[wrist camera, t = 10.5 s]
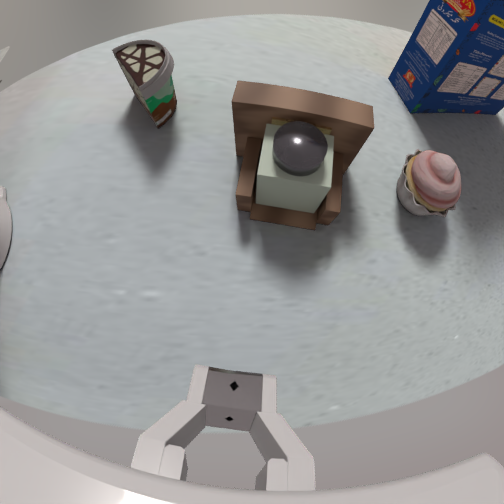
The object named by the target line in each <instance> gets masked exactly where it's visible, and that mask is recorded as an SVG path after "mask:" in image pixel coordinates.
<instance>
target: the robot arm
mask: <svg viewBox="0 0 504 504" xmlns="http://www.w3.org/2000/svg"><path fill="white" fill-rule="evenodd" d="M11 232H12V219H11V213H10V209H9V207H8V204H7V202H6V189H5V187H2V186H0V269H1V267H2V265H3V263H4V261H5V258H6V256H7V253H8V249H9V245H10V240H11ZM205 426H211V427H219V428H227V429H234V430H241V431H249V433H250V435H251V437H252V438H253V440H254V442H255V444H256V445H257V447H258V449H259V451H260V453H261V454H262V456H263V458H264V460H265V461H266V465H265V466H264V467H263V469H262V470H261V471H260V473H259V474H258V475H257V477H256V485H255V490H248V489H236V488H227V487H219V486H211V485H205V484H198V483H192V482H187V481H186V477H187V470H188V467H187V461H186V454H185V451H184V448H185V447H186V446H187V445H188V444H189V443H190V442H191V441H192V440H193V439H194V438H195V437H196V436H197V435H198V434H199V433H200V432H201V431H202V430H203V429H204V428H205ZM0 504H504V468H503V466H502V465H501V464H500V463H499V462H498V461H497V460H495V459H494V458H493V457H492V456H490V455H489V454H488V453H481V454H478V455H476V456H473V457H471V458H468V459H465V460H462V461H460V462H457V463H454V464H451V465H448V466H445V467H442V468H439V469H436V470H432V471H429V472H425V473H422V474H418V475H414V476H410V477H406V478H402V479H397V480H392V481H388V482H382V483H377V484H370V485H364V486H357V487H349V488H339V489H328V490H315V469H314V458H313V457H312V455H311V454H310V453H309V451H308V450H307V449H306V447H305V446H304V445H303V444H302V442H301V441H300V439H299V438H298V437H297V435H296V434H295V433H294V431H293V430H292V428H291V427H290V426H289V424H288V423H287V422H286V420H285V419H284V417H283V416H282V415H281V413H277V378H276V376H275V375H265V374H259V373H250V372H241V371H231V370H225V369H219V368H213V367H208V366H202V365H197V364H196V365H195V367H194V370H193V374H192V379H191V383H190V387H189V392H188V396H187V400H186V401H184V400H182V401H181V402H180V403H179V404H178V405H176V406H175V407H174V408H173V409H172V410H170V411H169V412H168V413H167V414H166V415H164V416H163V417H162V418H161V419H160V420H158V421H157V422H156V423H155V424H153V425H152V426H151V427H150V428H149V429H147V430H146V431H145V432H144V433H142V434H141V435H140V436H139V439H138V443H137V446H136V450H135V454H134V457H133V460H132V464H131V467H128V466H124V465H121V464H118V463H115V462H112V461H110V460H107V459H104V458H101V457H99V456H96V455H93V454H91V453H88V452H86V451H84V450H81V449H79V448H77V447H74V446H72V445H70V444H68V443H65V442H63V441H61V440H59V439H57V438H55V437H53V436H51V435H49V434H47V433H45V432H43V431H41V430H39V429H38V428H36V427H34V426H32V425H30V424H29V423H27V422H25V421H23V420H21V419H20V418H18V417H17V416H15V415H13V414H12V413H10V412H8V411H7V410H5V409H4V408H2V407H1V406H0Z"/></svg>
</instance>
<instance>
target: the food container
mask: <svg viewBox="0 0 504 504" xmlns="http://www.w3.org/2000/svg"><path fill="white" fill-rule="evenodd" d="M112 51H113V53H114V56H115V58H116V59H117V61H118V63H119V65H120V67H121V69H122V71H123V73H124V75H125V77H126V79H127V80H128V82H129V84H130V86H131V88H132V90H133V92H134V94H135V96H136V97H137V98H138V100H139V101H140V103H141V104H142V106H143V107H144V109H145V110H146V112H147V113H148V115H149V116H150V118H151V119H152V121H153V122H154V124H155V125H156V126H157V128H159V127H161V126H162V125H164V124H165V123H166V122H167V121H168V120H169V119H170V118H171V117H172V115H173V113H174V111H175V109H176V104H177V100H176V95H175V90H174V85H173V81H172V76H171V74H172V72H173V68H174V61H173V58H172V56H171V55H170V53H169V52H168V50H167V49H166V48H165V47H164V46H163V45H161V44H160V43H158V42H156V41H152V40H137V41H132V42H129V43H126V44H123V45H121V46H118V47H116V48H114V49H113V50H112Z"/></svg>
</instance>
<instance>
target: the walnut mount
mask: <svg viewBox="0 0 504 504" xmlns="http://www.w3.org/2000/svg"><path fill="white" fill-rule="evenodd" d="M232 111H233V122H234V133H235V144H236V155H237V156H243V161H242V166H241V171H240V175H239V180H238V185H237V190H236V201H237V208H238V210H241V211H248V212H251V214H250V219H252V220H258V221H264V222H270V223H276V224H282V225H288V226H294V227H300V228H305V229H311V230H315V228H316V223H318V224H324V225H329V224H330V223H331V222H332V221H333V220H334V219H335V218H336V217H337V215H338V214H339V213H340V209H341V194H342V177H343V174H344V173H345V172H346V170H347V169H348V167H349V166H350V164H351V163H352V161H353V160H354V158H355V157H356V155H357V154H358V152H359V151H360V149H361V148H362V146H363V145H364V143H365V142H366V140H367V138H368V137H369V135H370V134H371V132H372V131H373V129H374V118H373V106H370V105H366V104H363V103H359V102H355V101H351V100H347V99H343V98H339V97H335V96H331V95H326V94H322V93H317V92H312V91H307V90H302V89H296V88H290V87H284V86H277V85H270V84H263V83H255V82H246V81H237V85H236V88H235V92H234V95H233V99H232ZM293 121H301V122H306V123H309V124H311V125H313V126H315V127H317V128H318V129H319V130H320V131H321V132H322V133H323V134H327V135H332V136H334V148H333V166H332V181H331V188H330V190H329V191H328V193H327V194H326V196H325V198H324V199H323V201H322V202H321V204H320V205H319V207H318V208H317V210H316V211H315V213H314V214H313V213H308V212H302V211H297V210H291V209H285V208H280V207H274V206H267V205H261V204H256V188H257V172H258V167H259V161H260V156H261V151H262V145H263V140H264V134H265V129H266V123H267V124H273V125H280V126H282V125H284V124H286V123H289V122H293Z"/></svg>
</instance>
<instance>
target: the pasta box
mask: <svg viewBox="0 0 504 504" xmlns="http://www.w3.org/2000/svg"><path fill="white" fill-rule="evenodd" d="M388 79H389V80H390V82H391V83H392V85H393V86H394V88H395V89H396V91H397V92H398V94H399V96H400V97H401V99H402V100H403V102H404V104H405V105H406V107H407V109H408V110H409V112H410V113H474V114H491V115H496V114H497V113H498V112H499V111H500V110H501V109H502V108H503V107H504V0H430V1H429V3H428V5H427V6H426V8H425V10H424V13H423V15H422V17H421V18H420V20H419V22H418V24H417V26H416V28H415V30H414V32H413V33H412V35H411V37H410V39H409V41H408V43H407V45H406V47H405V48H404V50H403V52H402V54H401V56H400V58H399V60H398V61H397V63H396V65H395V67H394V69H393V71H392V72H391V74H390V76H389V78H388Z"/></svg>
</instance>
